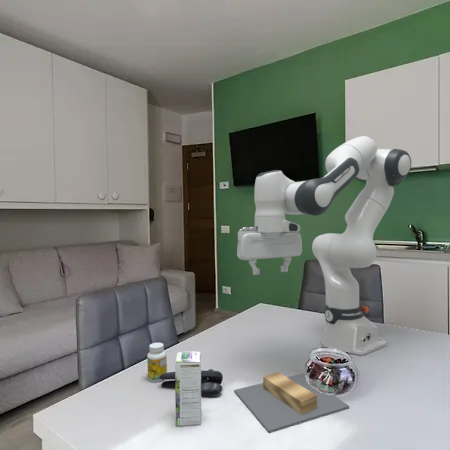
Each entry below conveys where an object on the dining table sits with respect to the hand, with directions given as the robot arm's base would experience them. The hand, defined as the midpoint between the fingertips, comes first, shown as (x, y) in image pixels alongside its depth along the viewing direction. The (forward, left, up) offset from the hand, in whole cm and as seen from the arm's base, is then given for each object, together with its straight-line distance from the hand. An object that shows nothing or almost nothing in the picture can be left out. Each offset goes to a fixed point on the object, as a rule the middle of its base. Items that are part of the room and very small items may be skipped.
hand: (270, 273), depth 98 cm
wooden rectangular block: (+4, +15, -29) cm, 32 cm away
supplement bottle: (+32, -10, -29) cm, 45 cm away
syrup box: (+29, +12, -29) cm, 43 cm away
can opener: (+25, 0, -30) cm, 39 cm away
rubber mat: (+4, +15, -29) cm, 33 cm away
